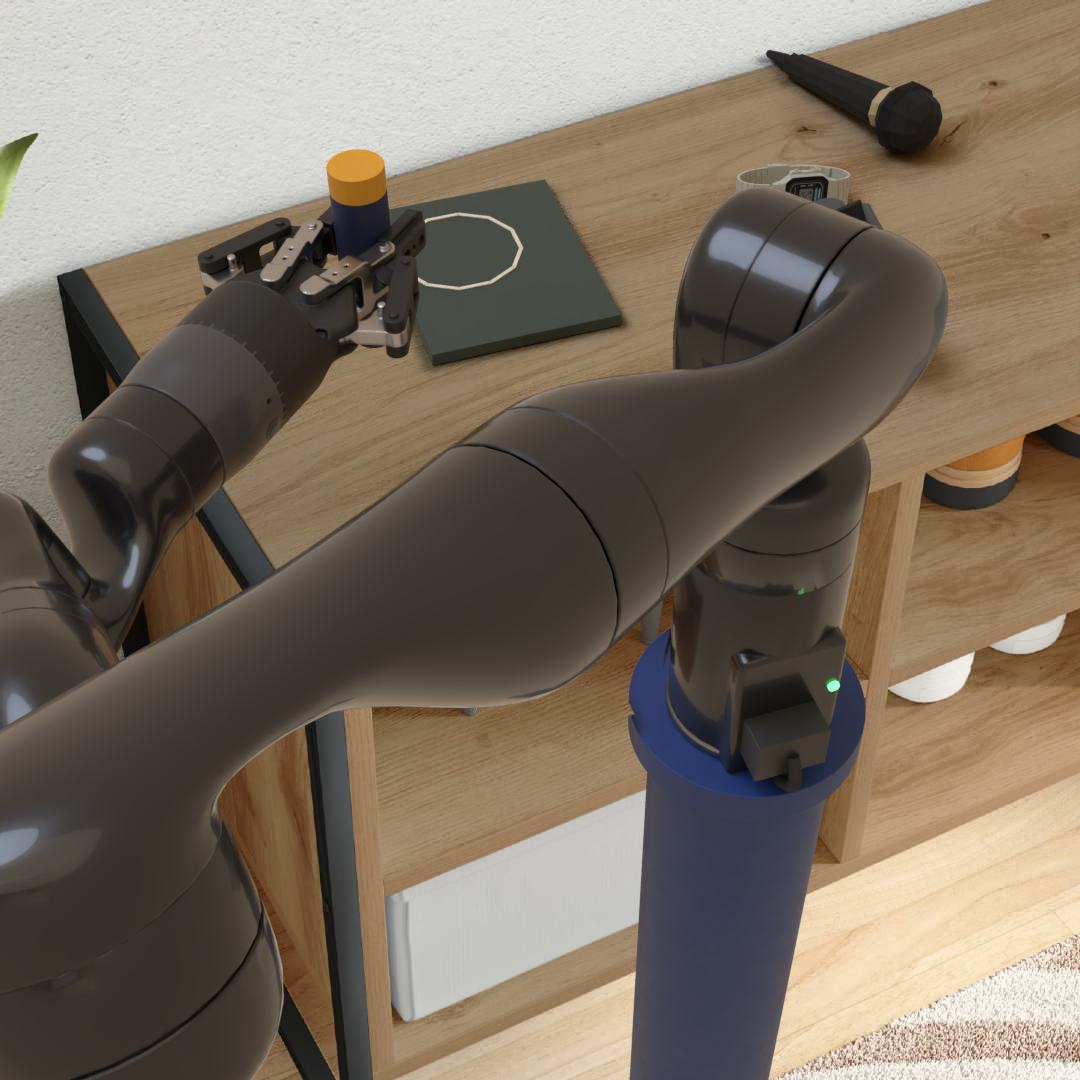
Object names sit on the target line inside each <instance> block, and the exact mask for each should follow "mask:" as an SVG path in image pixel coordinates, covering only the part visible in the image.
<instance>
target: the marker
mask: <svg viewBox="0 0 1080 1080" xmlns="http://www.w3.org/2000/svg"><path fill="white" fill-rule="evenodd" d="M325 168H326V170H325V171H326V177H327V184H328V193H329V201H330V206H331V209H332V216H333V224H334V232H335V240H336V247H337V263H338V262H339V261H341V260H342V259H343V258H345V257H346V256H348V255H350V254H352V255H354V256H356V257H358V256H359V255H361V254H362V253H363V252H365V251H366V250H368V249H369V248H370V247H372V246H373V245H375V244H376V243H378V242H379V238H380V237H381V236H382V235H383V234H384V233H385V232H387V230H388V229H389V227H390V226H391V225H390V215H389V209H390V206H389V195H388V185H387V175H386V164H385V160H384V159H383V157H382V155H380V154H379V153H377V152H375V151H372V150H369V149H361V148H357V149H348V150H344V151H340V152H338V153H337V154H334V155H333V156H332V157H330V159H329V160H328V161H327V163H326V166H325ZM374 275H376V270H375V271H374V272H373V274H372V277H373V276H374ZM387 295H388V292H387V293H386V294H384V295H383V296H381V297H380V298H379V299H377V301H376V302H375V305H374V308H373V310H372V311H371V312H370V313H369V314H368V315H366V316H365V317H363V318H362V319H361V320H359V321H362V320H366V319H368V318H369V317H370V316H371V315H372V313H373V312H374V311H375V310H377V304H378V303H379V302H385V303H386V299H387ZM360 346H361V347H363V348H367V349H380V348H383V347H386V346H385V345H360Z"/></svg>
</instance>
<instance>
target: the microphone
mask: <svg viewBox="0 0 1080 1080" xmlns="http://www.w3.org/2000/svg"><path fill="white" fill-rule="evenodd" d="M765 56H766V57H767V58H768V59H769V60H771V61H772V62H774V64H775V65H776V66H778V67H780V68H781V69H783V70H782V71H783V72H784V73H786V75H788V76H789V79H791V80H793V81H794V82H796V83H797V84H800V85H801V86H803V87H805V88H807V89H808V90H809V91H812V92H813V93H815V94H816V95H819V96H820V97H822V98H823V99H825V100H827V101H828V102H830V103H832V104H834V105H836V106H837V107H838V108H840V109H842V110H844V111H846V112H847V113H849V114H851V115H853V116H855V117H856V118H858V119H860V120H861V121H863V122H865V123H867V124H869V126H872V127H874V128H875V132H876V133H875V134H876V136H877V141H878V145H880V146H882V147H883V148H885V149H887V150H889V151H891V152H893V153H895V154H897V155H900V154H902V153H916V152H918V151H920V150H923V149H925V148H928V146H929V145H930V144H931V143H932V141H934V139H935V138H936V137H937V135H938V134H939V132H940V128H941V125H942V121H943V118H944V117H943V113H942V107H941V103H940V102H939V100H938V99H937V98H936V97H935V96H934V93H933V90H932V89H930V88H928V87H926V86H925V85H923V84H921V83H919V82H917V81H914V80H911V81H908V82H906V83H904V84H902V85H899V86H896V87H895V88H894V87H893V86H891V85H888V84H885V83H882V82H880V81H877V80H874V79H871V78H869V77H866V76H864V75H861V74H857V73H855V72H852V71H849V70H847V69H845V68H841V67H839V66H836V65H833V64H831V63H828V62H826V61H823V60H820V59H817V58H815V57H811V56H809V55H806V54H804V53H800V54H799V53H796V52H792V53H791V54H790V53H787V52H782V51H777V50H772V49H767V50H766V51H765Z"/></svg>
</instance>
